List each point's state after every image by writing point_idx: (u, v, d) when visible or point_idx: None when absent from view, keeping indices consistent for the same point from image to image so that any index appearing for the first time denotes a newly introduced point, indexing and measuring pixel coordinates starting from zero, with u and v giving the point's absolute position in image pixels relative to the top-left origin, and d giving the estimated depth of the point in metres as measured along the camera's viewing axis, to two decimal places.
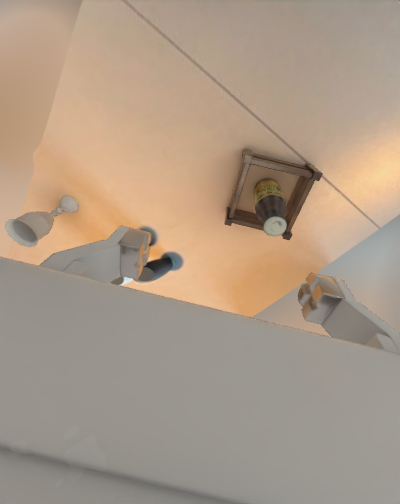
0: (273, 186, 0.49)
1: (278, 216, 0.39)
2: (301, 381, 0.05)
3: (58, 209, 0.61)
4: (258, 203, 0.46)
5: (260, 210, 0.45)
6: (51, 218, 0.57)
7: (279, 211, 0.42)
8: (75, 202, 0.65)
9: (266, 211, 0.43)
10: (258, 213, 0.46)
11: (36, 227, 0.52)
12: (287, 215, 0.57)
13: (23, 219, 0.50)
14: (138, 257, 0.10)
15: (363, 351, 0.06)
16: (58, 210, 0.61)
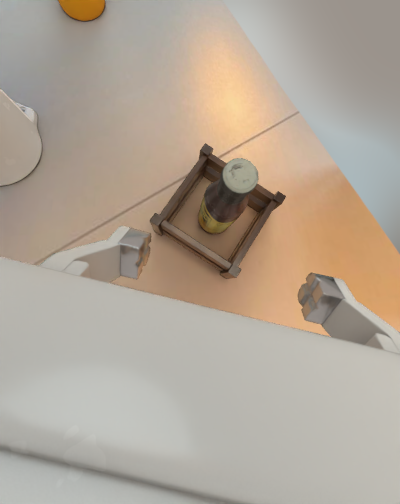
0: None
1: (224, 167, 0.25)
2: (301, 381, 0.05)
3: None
4: (211, 212, 0.32)
5: (220, 207, 0.30)
6: None
7: None
8: None
9: (219, 194, 0.28)
10: (223, 212, 0.30)
11: None
12: (252, 199, 0.43)
13: None
14: (138, 257, 0.10)
15: (363, 351, 0.06)
16: None
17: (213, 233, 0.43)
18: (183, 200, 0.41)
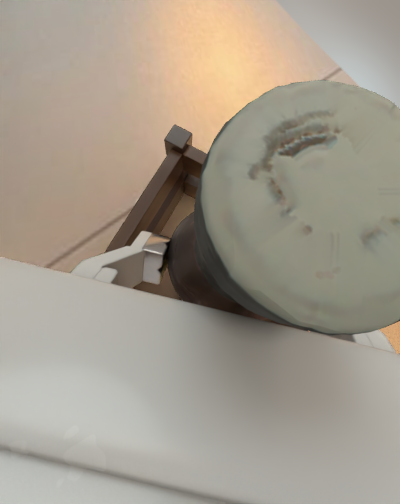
0: None
1: (210, 149, 0.04)
2: (301, 381, 0.05)
3: None
4: None
5: (215, 305, 0.09)
6: None
7: None
8: None
9: (206, 274, 0.07)
10: None
11: None
12: None
13: None
14: (161, 263, 0.10)
15: (363, 351, 0.06)
16: None
17: None
18: None
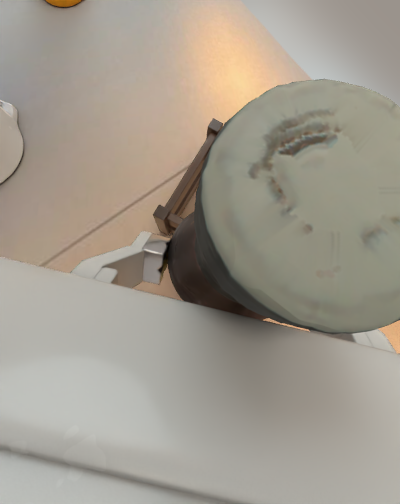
0: None
1: (211, 148, 0.04)
2: (301, 381, 0.05)
3: None
4: None
5: (216, 304, 0.09)
6: None
7: None
8: None
9: (206, 274, 0.07)
10: None
11: None
12: None
13: None
14: (161, 263, 0.10)
15: (363, 351, 0.06)
16: None
17: None
18: (191, 190, 0.35)
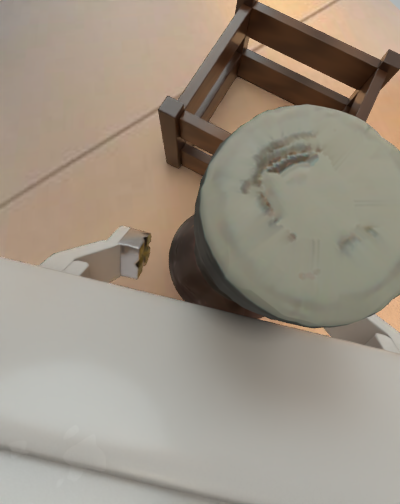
0: None
1: (208, 165, 0.04)
2: (301, 381, 0.05)
3: None
4: None
5: (214, 303, 0.09)
6: None
7: None
8: None
9: (205, 275, 0.07)
10: None
11: None
12: (326, 93, 0.25)
13: None
14: (138, 257, 0.10)
15: (363, 351, 0.06)
16: None
17: None
18: (211, 101, 0.24)
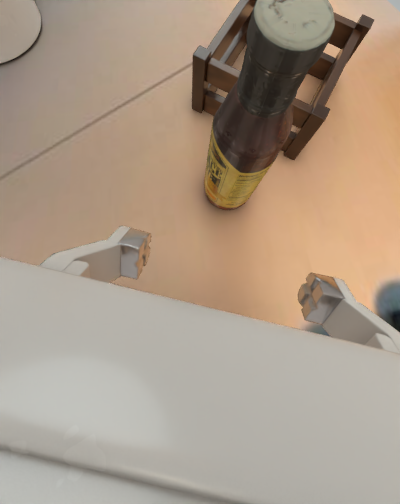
0: None
1: (255, 4, 0.11)
2: (301, 381, 0.05)
3: None
4: (228, 152, 0.18)
5: (244, 133, 0.16)
6: None
7: None
8: None
9: (244, 95, 0.14)
10: (252, 140, 0.16)
11: None
12: None
13: None
14: (138, 257, 0.10)
15: (363, 351, 0.06)
16: None
17: (228, 208, 0.29)
18: (227, 59, 0.31)
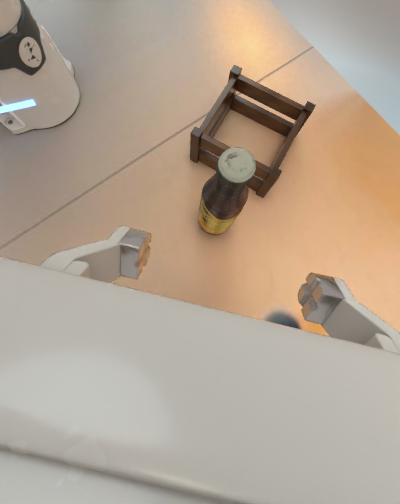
0: None
1: (219, 157, 0.24)
2: (301, 381, 0.05)
3: None
4: (211, 210, 0.30)
5: (219, 203, 0.29)
6: None
7: None
8: None
9: (217, 188, 0.27)
10: (223, 207, 0.29)
11: None
12: (280, 120, 0.45)
13: None
14: (138, 257, 0.10)
15: (363, 351, 0.06)
16: None
17: (215, 234, 0.41)
18: (215, 125, 0.44)
